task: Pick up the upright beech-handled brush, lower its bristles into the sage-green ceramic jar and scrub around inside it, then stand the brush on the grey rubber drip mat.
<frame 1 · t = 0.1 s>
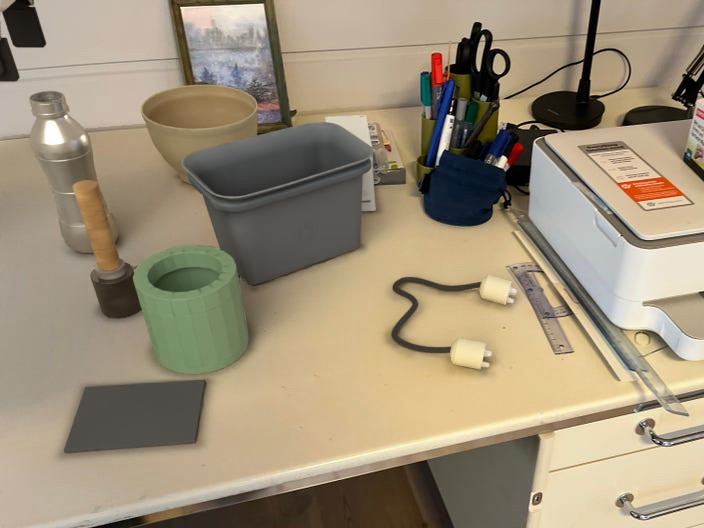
hand: (17, 62, 77), 26 cm above the table, tool pointing down, fingers open, 9 cm apart
brush: (122, 307, 90), on the table
drip mat: (139, 415, 76), on the table
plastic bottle: (95, 247, 99), on the table
cable: (445, 327, 91), on the table
cosmetics box: (352, 196, 114), on the table
storage bin: (288, 252, 101), on the table
planter bowl: (212, 174, 116), on the table
jar: (202, 344, 85), on the table
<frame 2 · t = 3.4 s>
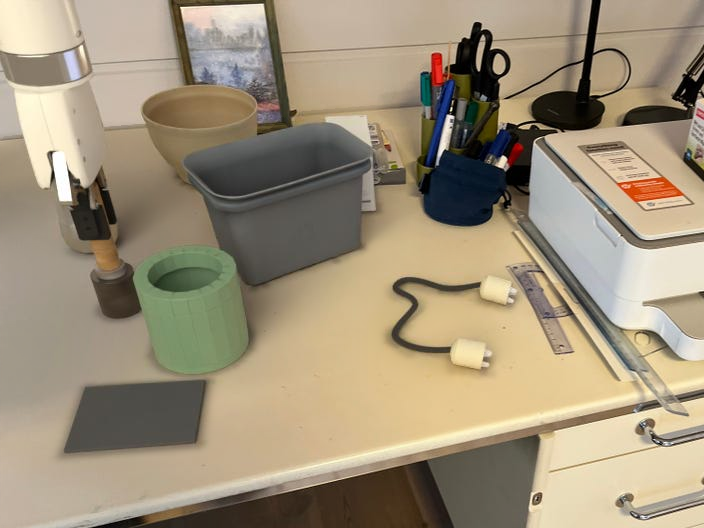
hand: (98, 230, 83), 11 cm above the table, tool pointing down, fingers closed on brush, 2 cm apart
brush: (122, 307, 90), on the table, touching gripper
everything else where it was.
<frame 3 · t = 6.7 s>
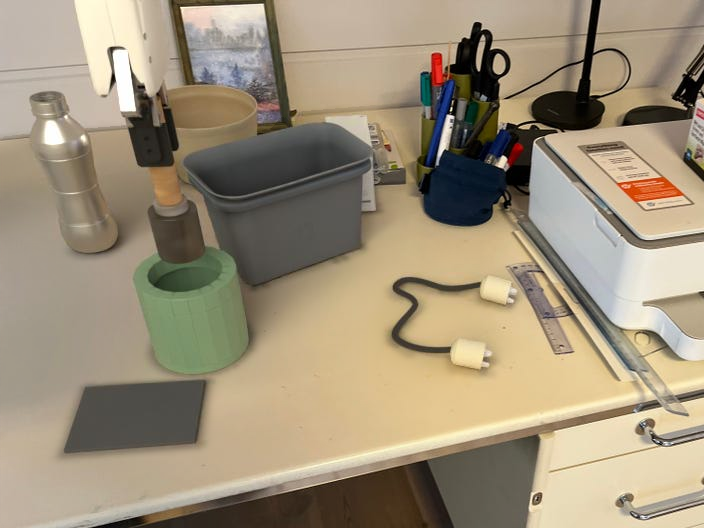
hand: (159, 156, 71), 23 cm above the table, tool pointing down, fingers closed on brush, 2 cm apart
brush: (182, 251, 77), point 12 cm above the table, touching gripper
everything else where it was.
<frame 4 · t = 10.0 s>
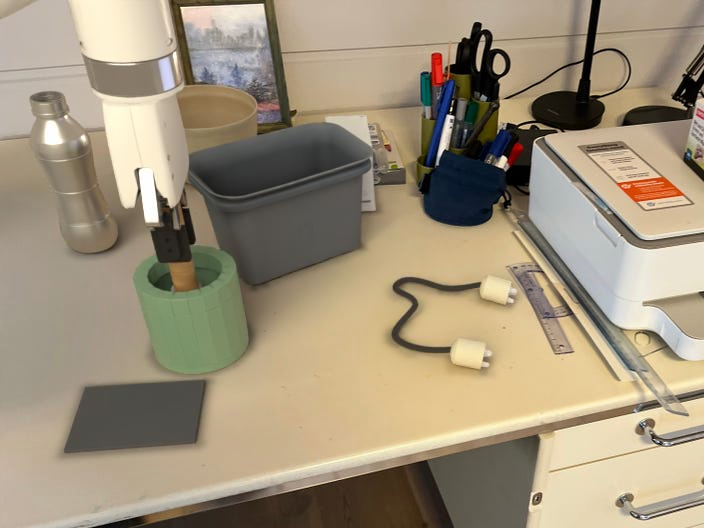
hand: (177, 251, 76), 13 cm above the table, tool pointing down, fingers closed on brush, 2 cm apart
brush: (197, 332, 83), point 2 cm above the table, touching gripper
everything else where it was.
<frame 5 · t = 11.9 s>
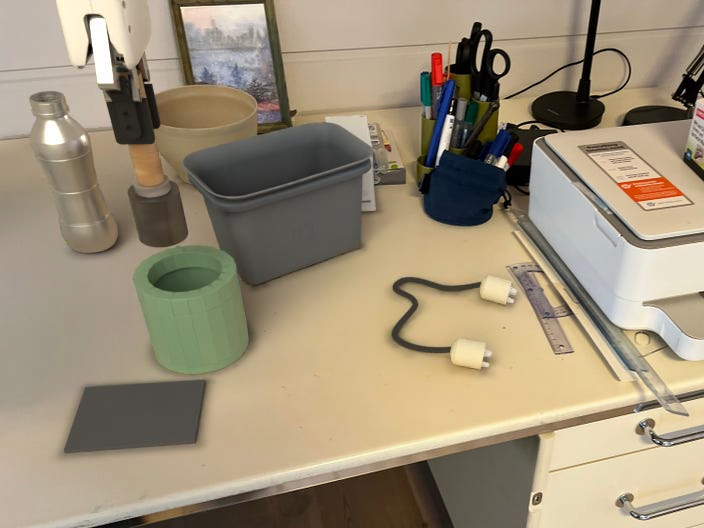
hand: (139, 133, 68), 26 cm above the table, tool pointing down, fingers closed on brush, 2 cm apart
brush: (164, 235, 74), point 15 cm above the table, touching gripper
everything else where it was.
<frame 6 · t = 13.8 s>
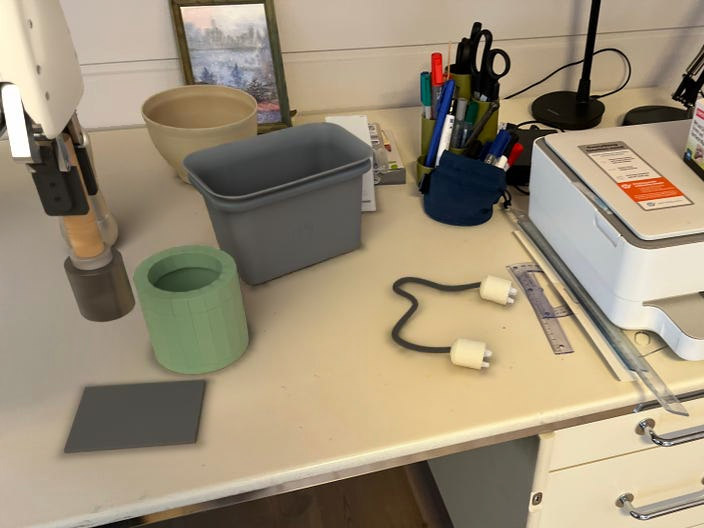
hand: (73, 202, 61), 24 cm above the table, tool pointing down, fingers closed on brush, 2 cm apart
brush: (108, 306, 68), point 14 cm above the table, touching gripper
everything else where it was.
when the fingers open (11 cm above the table, at t = 16.8 s): brush stays where it is, resting on drip mat.
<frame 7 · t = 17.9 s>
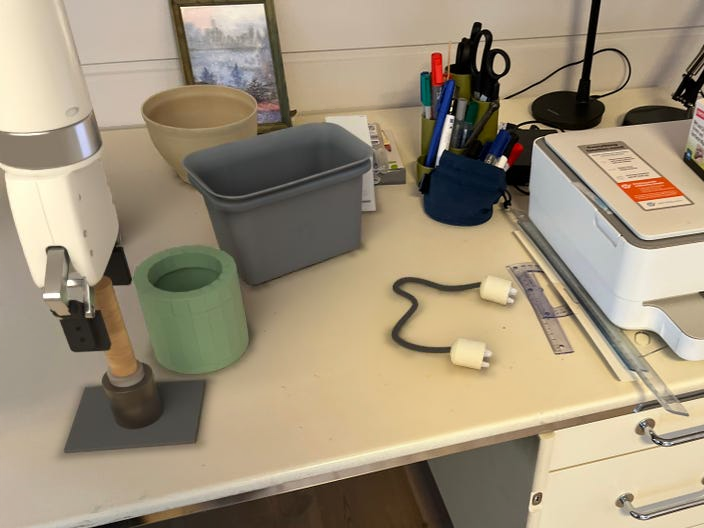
hand: (104, 315, 68), 13 cm above the table, tool pointing down, fingers open, 9 cm apart
brush: (139, 413, 76), resting on drip mat
everything else where it was.
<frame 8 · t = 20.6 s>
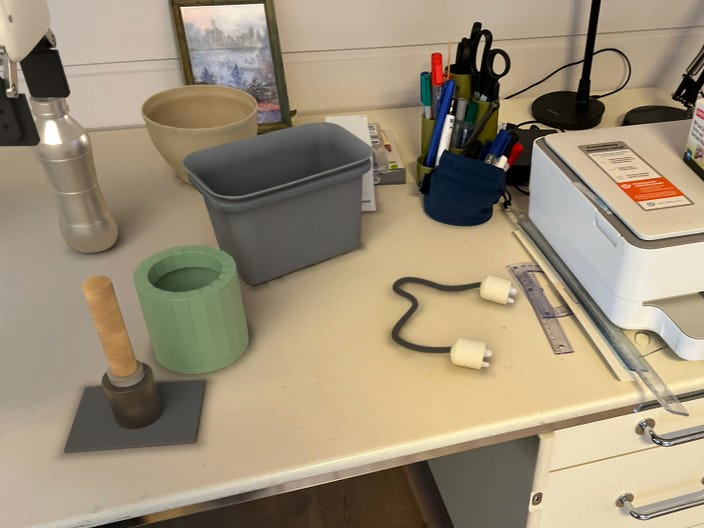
hand: (36, 119, 63), 28 cm above the table, tool pointing down, fingers open, 9 cm apart
nothing on the table moved.
at the end: brush inside the target area (0.1 cm from its centre), resting on drip mat; brush tilted 0°; the gripper is holding nothing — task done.
